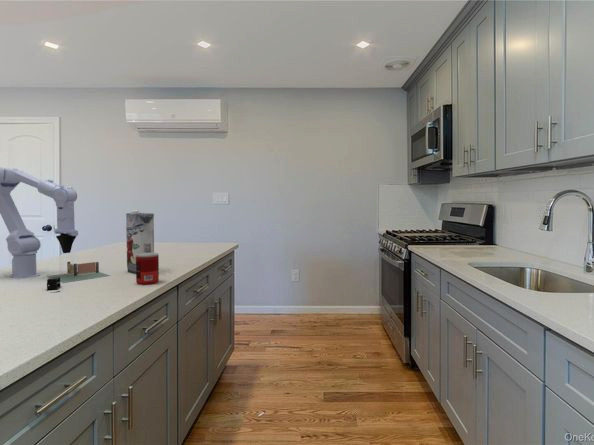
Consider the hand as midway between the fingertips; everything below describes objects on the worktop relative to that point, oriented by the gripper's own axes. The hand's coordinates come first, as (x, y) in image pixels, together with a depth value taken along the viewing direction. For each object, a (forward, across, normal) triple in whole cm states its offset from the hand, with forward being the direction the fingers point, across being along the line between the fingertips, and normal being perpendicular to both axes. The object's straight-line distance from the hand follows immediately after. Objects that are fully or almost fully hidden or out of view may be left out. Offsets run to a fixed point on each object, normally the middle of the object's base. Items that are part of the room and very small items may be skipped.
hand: (66, 252), depth 138 cm
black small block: (+11, +16, -12) cm, 23 cm away
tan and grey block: (+10, -3, +7) cm, 12 cm away
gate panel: (+9, +1, +7) cm, 12 cm away
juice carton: (+10, +14, +23) cm, 29 cm away
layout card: (+10, +2, +3) cm, 11 cm away
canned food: (+10, +33, +13) cm, 37 cm away
